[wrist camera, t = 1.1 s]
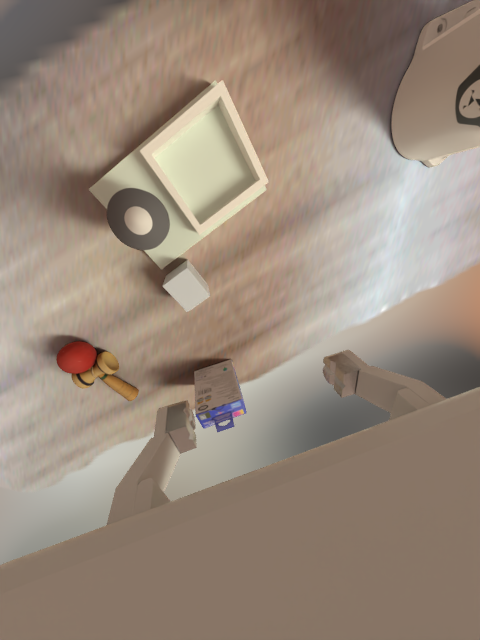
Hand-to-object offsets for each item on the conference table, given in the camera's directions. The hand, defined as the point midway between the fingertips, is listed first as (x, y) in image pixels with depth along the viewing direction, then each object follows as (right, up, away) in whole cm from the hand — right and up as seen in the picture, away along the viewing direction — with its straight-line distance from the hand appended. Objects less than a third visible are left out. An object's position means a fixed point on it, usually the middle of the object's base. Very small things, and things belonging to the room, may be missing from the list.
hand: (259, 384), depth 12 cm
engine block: (-11, +11, +27) cm, 32 cm away
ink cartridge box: (-7, -9, +40) cm, 42 cm away
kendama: (-30, -6, +33) cm, 45 cm away
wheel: (-14, +17, +16) cm, 28 cm away
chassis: (-10, +24, +21) cm, 33 cm away
